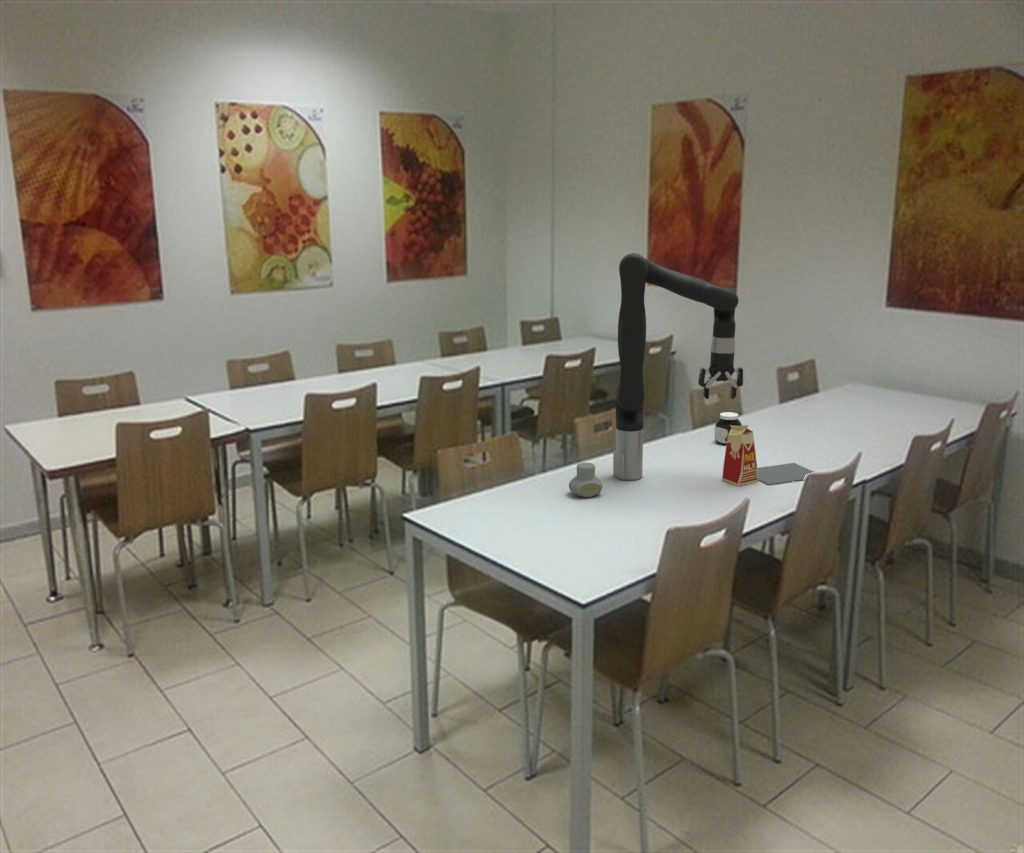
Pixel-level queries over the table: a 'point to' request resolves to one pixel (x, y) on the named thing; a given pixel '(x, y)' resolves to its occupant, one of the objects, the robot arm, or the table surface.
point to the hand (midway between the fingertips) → (719, 398)
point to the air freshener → (585, 481)
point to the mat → (782, 473)
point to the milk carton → (740, 457)
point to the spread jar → (725, 426)
